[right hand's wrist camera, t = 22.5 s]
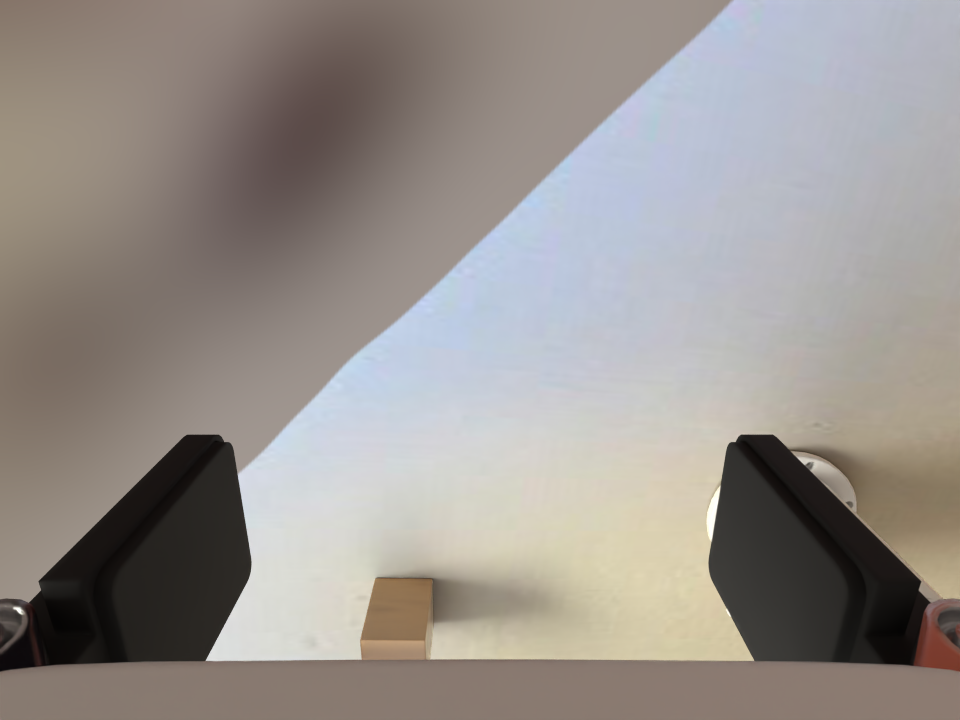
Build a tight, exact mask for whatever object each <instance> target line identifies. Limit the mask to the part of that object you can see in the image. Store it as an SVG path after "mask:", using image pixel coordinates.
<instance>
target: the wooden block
mask: <svg viewBox="0 0 960 720" xmlns="http://www.w3.org/2000/svg"><path fill="white" fill-rule="evenodd" d="M433 624H434V621H433V584H432V579H411V578H376V579H375V582H374V586H373V590H372V594H371V598H370V602H369V606H368V610H367V615H366V619H365V623H364V627H363V631H362V635H361V639H360V643H361V655H362V660H430V654H431V644H432V634H433Z"/></svg>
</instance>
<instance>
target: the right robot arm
mask: <svg viewBox="0 0 960 720" xmlns="http://www.w3.org/2000/svg"><path fill="white" fill-rule="evenodd" d="M706 523H707V531H708V535H709V538H710V541H711V549H710V555H709V572H710V576H711V579H712V581H713V583H714V585H715V587H716V589H717V591H718V593H719V595H720V596H721V598H722V600H723V602H724V604H725V606H726V611H727V613H728V614H729V615H730V616H731V617H732V619H733V621H734V623H735V625H736V627H737V629H738V630H739V632H740V634H741V636H742V638H743V640H744V642H745V644H746V645H747V647H748V649H749V651H750V653H751V655H752V657H753V659H754V661H675V660H286V661H206V659H207V657H208V655H209V653H210V651H211V649H212V647H213V645H214V644H215V642H216V640H217V638H218V636H219V634H220V632H221V630H222V629H223V627H224V625H225V623H226V621H227V619H228V617H229V615H230V613H231V612H232V610H233V608H234V606H235V604H236V602H237V600H238V598H239V596H240V595H241V593H242V591H243V589H244V587H245V585H246V583H247V581H248V579H249V576H250V572H251V555H250V549H249V542H248V536H247V530H246V524H245V518H244V512H243V505H242V499H241V493H240V487H239V481H238V475H237V469H236V462H235V456H234V450H233V447H232V445H231V443H229V442H224V440H223V439H222V437H221V436H220V435H186V436H185V437H183V438H182V439H181V440H180V441H179V442H178V443H177V444H176V445H175V446H174V447H173V448H172V449H171V450H170V451H169V452H168V453H167V454H166V455H165V456H164V457H163V458H162V459H161V460H160V461H159V462H158V463H157V464H156V465H155V466H154V467H153V468H152V469H151V470H150V471H149V472H148V473H147V474H146V475H145V476H144V477H143V478H142V479H141V480H140V481H139V482H138V483H137V484H136V485H135V486H134V487H133V488H132V489H131V490H130V491H129V492H128V493H127V494H126V495H125V496H124V497H123V498H122V499H121V500H120V501H119V502H118V503H117V504H116V505H115V506H114V507H113V508H112V509H111V510H110V511H109V512H108V513H107V514H106V515H105V516H104V517H103V518H102V519H101V520H100V521H99V522H98V523H97V524H96V525H95V526H94V527H93V528H92V529H91V530H90V531H89V532H88V533H87V534H86V535H85V536H84V537H83V538H82V539H81V540H80V541H79V542H78V543H77V544H76V545H75V546H74V547H73V548H72V549H71V550H70V551H69V552H68V553H67V554H66V555H65V556H64V557H62V558H61V560H59V561H58V562H57V563H56V564H55V565H54V566H53V567H52V568H51V569H50V570H49V571H48V572H47V573H46V575H44V576H43V577H42V578H41V579H40V580H39V585H40V588H41V591H40V592H39V593H38V594H37V595H36V596H35V597H34V598H33V599H32V600H31V601H30V602H29V603H28V602H25V601H23V600H20V599H0V720H960V599H943V598H942V597H941V596H940V595H939V594H938V593H937V592H936V591H935V590H934V589H933V588H932V587H931V586H930V585H929V584H928V583H927V582H926V581H925V580H924V579H923V578H922V577H921V576H920V575H919V574H918V573H917V572H916V571H915V570H913V569H912V568H911V567H910V566H909V565H908V564H907V563H906V562H905V561H904V560H903V559H902V558H901V557H900V556H899V555H898V554H897V553H896V552H895V551H894V550H893V549H892V548H891V547H890V546H889V545H888V544H887V543H886V542H885V541H884V540H883V539H882V538H881V537H880V536H879V535H878V534H877V533H876V532H875V531H874V530H873V529H872V528H871V527H870V526H869V525H868V524H867V523H866V522H865V521H864V520H863V519H862V518H861V517H860V516H859V515H858V514H857V501H856V496H855V493H854V489H853V487H852V485H851V484H850V482H849V480H848V479H847V477H846V476H845V475H844V474H843V473H842V472H841V471H840V470H839V469H838V468H836V467H835V466H834V465H833V464H832V463H830V462H829V461H827V460H825V459H823V458H821V457H819V456H816V455H813V454H809V453H806V452H795V451H790V450H789V449H788V448H787V447H786V446H785V445H784V444H783V443H782V442H781V441H780V440H779V439H778V438H777V437H775V436H774V435H740V436H739V437H738V439H737V440H736V442H731V443H729V445H728V447H727V450H726V456H725V462H724V468H723V475H722V481H721V485H720V486H719V488H718V489H717V491H716V492H715V494H714V496H713V498H712V499H711V502H710V505H709V508H708V512H707V522H706Z"/></svg>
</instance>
